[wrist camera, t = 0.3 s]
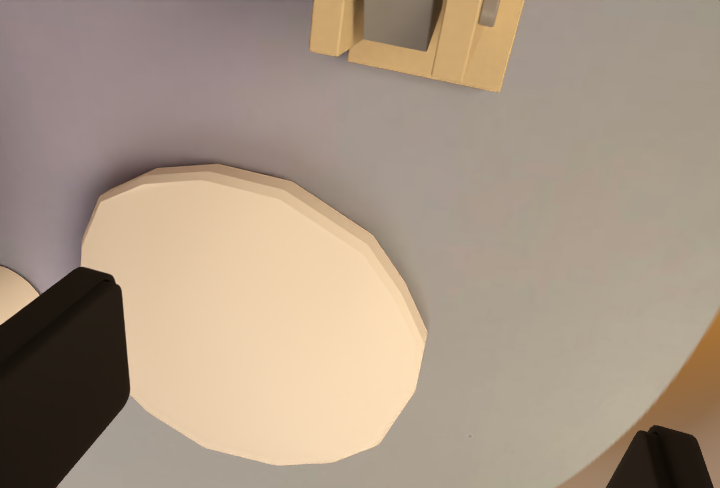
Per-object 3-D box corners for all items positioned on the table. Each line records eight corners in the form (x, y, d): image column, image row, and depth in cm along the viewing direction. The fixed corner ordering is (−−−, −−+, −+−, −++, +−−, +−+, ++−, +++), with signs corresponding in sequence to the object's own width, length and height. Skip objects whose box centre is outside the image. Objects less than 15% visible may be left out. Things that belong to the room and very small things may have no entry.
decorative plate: (47, 401, 45) (67, 116, 32) (82, 367, 48) (112, 98, 36) (337, 536, 44) (478, 298, 31) (351, 491, 48) (483, 261, 35)
